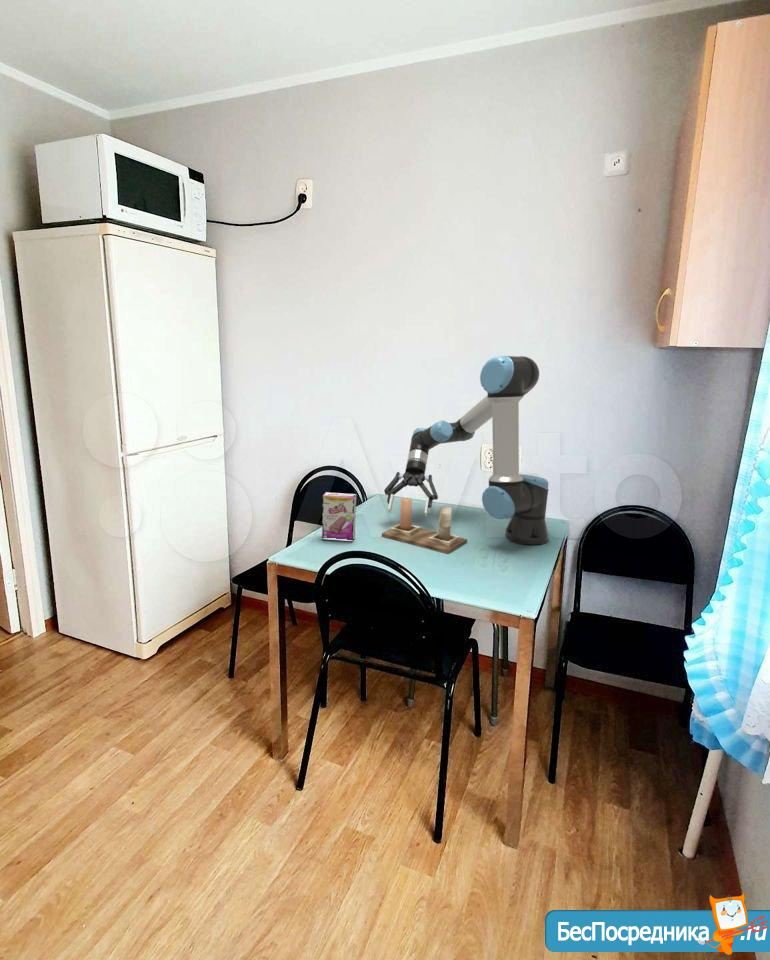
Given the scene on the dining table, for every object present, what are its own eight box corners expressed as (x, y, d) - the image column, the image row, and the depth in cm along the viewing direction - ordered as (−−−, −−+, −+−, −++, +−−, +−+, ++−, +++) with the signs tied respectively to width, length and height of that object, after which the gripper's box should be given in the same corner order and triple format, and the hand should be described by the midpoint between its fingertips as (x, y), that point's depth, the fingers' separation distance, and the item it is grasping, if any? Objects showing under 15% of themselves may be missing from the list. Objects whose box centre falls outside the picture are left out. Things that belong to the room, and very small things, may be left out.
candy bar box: (321, 540, 195) (321, 495, 191) (324, 536, 200) (324, 491, 196) (353, 542, 194) (354, 497, 190) (355, 537, 199) (356, 493, 195)
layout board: (467, 542, 198) (469, 506, 194) (448, 553, 186) (450, 516, 183) (402, 526, 212) (404, 493, 209) (381, 536, 201) (382, 501, 198)
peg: (412, 531, 204) (414, 499, 201) (407, 533, 201) (408, 501, 198) (403, 528, 206) (404, 497, 203) (397, 531, 203) (398, 499, 200)
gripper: (449, 472, 217) (441, 520, 206) (386, 467, 222) (376, 514, 212) (448, 461, 210) (440, 511, 200) (383, 456, 216) (373, 504, 206)
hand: (407, 512), depth 206 cm, fingers open, 13 cm apart
